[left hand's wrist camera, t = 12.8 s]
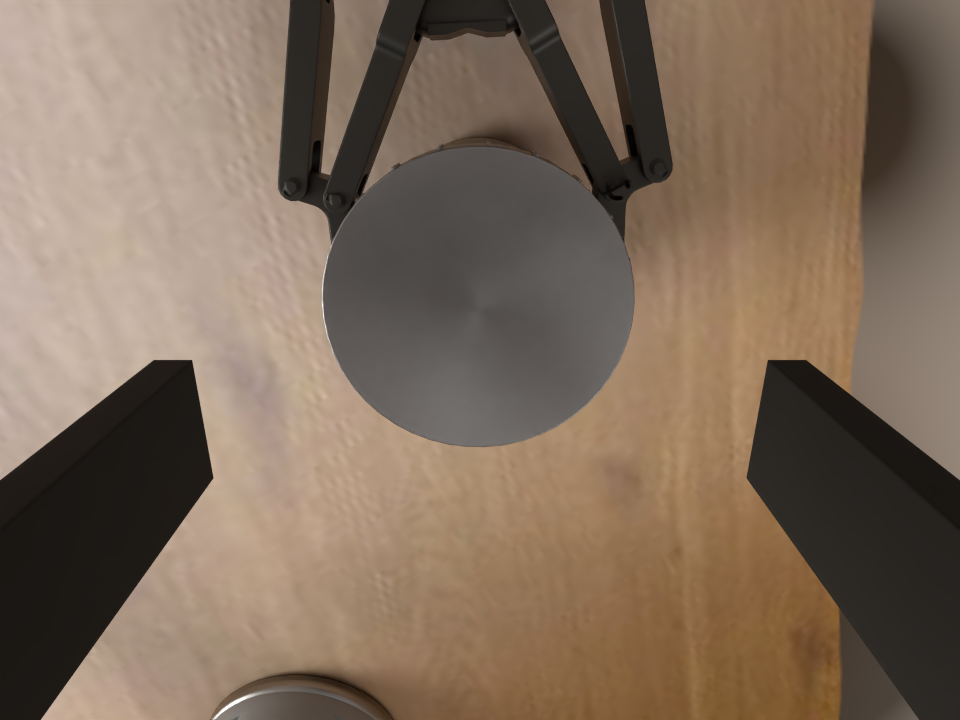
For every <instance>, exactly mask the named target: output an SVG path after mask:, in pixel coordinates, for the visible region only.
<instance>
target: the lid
mask: <svg viewBox="0 0 960 720" xmlns="http://www.w3.org/2000/svg"><path fill="white" fill-rule="evenodd" d="M391 169H392V171H391V172H389V173H388V174H387V175H385V176H384V177H383V178H382V179H380V180H379V181H378V182H377V183H375V184H374V185H373V186H372V187H370V188H369V189H368V190H367V191H366V193H363V194H362V195H361V196H359V197H358V198H357V199H356V200H355V201H356V203H355V204H354V206H353V207H352V209H351V210H350V211H349V213H348V214H347V216H346V217H345V219H344V220H343V222H342V224H341V226H340V227H339V229H338V231H337V233H336V235H335V237H334V238H333V239H332V245H331V248H330V251H329V253H328V256H327V260H326V265H325V270H324V275H323V285H322V308H323V319H324V323H325V328H326V333H327V337H328V340H329V342H330V345H331V348H332V351H333V354H334V356H335V358H336V360H337V362H338V364H339V366H340V368H341V369H342V371H343V373H344V374H345V376H346V377H347V379H348V380H349V382H350V383H351V385H352V386H353V387H354V389H355V390H356V391H357V392H358V393H359V394H360V395H361V396H362V398H363V399H364V400H365V401H366V402H367V403H368V404H369V405H371V406H372V407H373V408H374V409H375V410H376V411H377V412H379V413H380V414H381V415H383V416H384V417H385V418H387V419H388V420H390V421H391V422H393V423H394V424H396V425H398V426H400V427H402V428H403V429H405V430H407V431H409V432H411V433H413V434H416V435H419V436H421V437H424V438H427V439H429V440H433V441H437V442H441V443H445V444H449V445H457V446H465V447H490V446H500V445H507V444H511V443H516V442H520V441H524V440H527V439H530V438H533V437H535V436H538V435H541V434H543V433H545V432H547V431H549V430H551V429H553V428H555V427H557V426H559V425H560V424H562V423H563V422H565V421H567V420H568V419H570V418H571V417H573V416H574V415H575V414H576V413H578V412H579V411H580V410H581V409H582V408H584V407H585V406H586V405H587V404H588V403H589V402H590V401H591V400H592V399H593V398H594V397H595V396H596V395H597V394H598V393H599V392H600V390H601V389H602V388H603V386H604V385H605V384H606V382H607V381H608V379H609V378H610V377H611V375H612V373H613V372H614V370H615V368H616V366H617V364H618V363H619V361H620V359H621V357H622V354H623V351H624V349H625V346H626V344H627V341H628V337H629V334H630V330H631V326H632V320H633V312H634V280H633V274H632V268H631V263H630V258H629V256H628V253H627V250H626V247H625V244H624V241H623V239H622V237H621V235H620V233H619V231H618V229H617V227H616V225H615V223H614V222H613V220H612V218H613V217H612V215H611V214H610V213H608V212H607V211H606V209H605V208H604V207H603V206H602V204H601V203H600V202H599V201H598V200H597V199H596V198H595V196H594V195H593V194H592V193H591V192H590V191H589V190H588V189H587V188H585V187H584V186H583V185H582V184H581V182H582V180H581V179H579V178H578V177H577V176H575V175H574V174H573V176H571V175H570V174H568V173H567V172H566V171H564V170H563V169H561V168H559V167H558V166H556V165H555V164H553V163H552V162H550V161H548V160H546V159H544V158H542V157H540V154H538V153H537V152H536V151H533V152H532V153H531V152H528V151H525V150H521V149H518V148H515V147H511V146H505V145H499V144H492V143H491V142H490V141H488V140H487V143H466V144H457V145H450V146H446V147H443V144H442V145H439V146H438V147H437V149H435V150H431V151H428V152H426V153H424V154H421V155H419V156H416V157H414V158H412V159H410V160H408V161H407V162H405V163H403V164H402V165H400V163H398V164H396V165H395V166H393V167H392V168H391Z"/></svg>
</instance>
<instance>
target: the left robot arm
mask: <svg viewBox="0 0 960 720" xmlns="http://www.w3.org/2000/svg"><path fill="white" fill-rule="evenodd" d="M212 479H213V473H212V468H211V462H210V457H209V451H208V446H207V440H206V434H205V429H204V423H203V418H202V412H201V407H200V401H199V396H198V390H197V385H196V379H195V374H194V368H193V363H192V360H153V361H152V362H151V363H150V364H148V365H147V366H146V367H145V368H143V369H142V370H141V371H139V372H138V373H137V374H136V375H134V376H133V377H132V378H130V379H129V380H128V381H127V382H125V383H124V384H123V385H122V386H120V387H119V388H118V389H116V390H115V391H114V392H113V393H111V394H110V395H109V396H107V397H106V398H105V399H104V400H102V401H101V402H100V403H99V404H97V405H96V406H95V407H93V408H92V409H91V410H90V411H88V412H87V413H86V414H84V415H83V416H82V417H81V418H79V419H78V420H77V421H76V422H74V423H73V424H72V425H70V426H69V427H68V428H67V429H65V430H64V431H63V432H61V433H60V434H59V435H58V436H56V437H55V438H54V439H53V440H51V441H50V442H49V443H47V444H46V445H45V446H44V447H42V448H41V449H40V450H38V451H37V452H36V453H35V454H33V455H32V456H31V457H29V458H28V459H27V460H26V461H24V462H23V463H22V464H21V465H19V466H18V467H17V468H15V469H14V470H13V471H12V472H10V473H9V474H8V475H6V476H5V477H4V478H3V479H1V480H0V720H41V719H42V717H43V716H44V714H45V713H46V712H47V710H48V709H49V707H50V706H51V705H52V703H53V702H54V700H55V699H56V698H57V696H58V695H59V693H60V692H61V691H62V689H63V688H64V686H65V685H66V684H67V682H68V681H69V679H70V678H71V677H72V675H73V674H74V672H75V671H76V670H77V668H78V667H79V665H80V664H81V663H82V661H83V660H84V658H85V657H86V656H87V654H88V653H89V651H90V650H91V649H92V647H93V646H94V644H95V643H96V642H97V640H98V639H99V637H100V636H101V635H102V633H103V632H104V630H105V629H106V628H107V626H108V625H109V623H110V622H111V621H112V619H113V618H114V616H115V615H116V614H117V612H118V611H119V609H120V608H121V607H122V605H123V604H124V602H125V601H126V600H127V598H128V597H129V595H130V594H131V593H132V591H133V590H134V588H135V587H136V586H137V584H138V583H139V581H140V580H141V579H142V577H143V576H144V574H145V573H146V572H147V570H148V569H149V567H150V566H151V565H152V563H153V562H154V560H155V559H156V558H157V556H158V555H159V553H160V552H161V551H162V549H163V548H164V546H165V545H166V544H167V542H168V541H169V540H170V538H171V537H172V535H173V534H174V533H175V531H176V530H177V528H178V527H179V526H180V524H181V523H182V521H183V520H184V519H185V517H186V516H187V514H188V513H189V512H190V510H191V509H192V507H193V506H194V505H195V503H196V502H197V500H198V499H199V498H200V496H201V495H202V493H203V492H204V491H205V489H206V488H207V486H208V485H209V484H210V482H211V481H212ZM747 479H748V481H749V482H750V484H751V485H752V486H753V488H754V489H755V491H756V492H757V493H758V495H759V496H760V498H761V499H762V500H763V502H764V503H765V505H766V506H767V507H768V509H769V510H770V512H771V513H772V514H773V516H774V517H775V519H776V520H777V521H778V523H779V524H780V526H781V527H782V528H783V530H784V531H785V533H786V534H787V535H788V537H789V538H790V540H791V541H792V542H793V544H794V545H795V546H796V548H797V549H798V551H799V552H800V553H801V555H802V556H803V558H804V559H805V560H806V562H807V563H808V565H809V566H810V567H811V569H812V570H813V572H814V573H815V574H816V576H817V577H818V579H819V580H820V581H821V583H822V584H823V586H824V587H825V588H826V590H827V591H828V593H829V594H830V595H831V597H832V598H833V600H834V601H835V602H836V604H837V605H838V607H839V608H840V609H841V611H842V612H843V614H844V615H845V616H846V618H847V619H848V621H849V622H850V623H851V625H852V626H853V628H854V629H855V630H856V632H857V633H858V635H859V636H860V637H861V639H862V640H863V642H864V643H865V644H866V646H867V647H868V649H869V650H870V651H871V653H872V654H873V656H874V657H875V658H876V660H877V661H878V663H879V664H880V665H881V667H882V668H883V670H884V671H885V672H886V674H887V675H888V677H889V678H890V679H891V681H892V682H893V684H894V685H895V686H896V688H897V689H898V691H899V692H900V693H901V695H902V696H903V698H904V699H905V700H906V702H907V703H908V705H909V706H910V707H911V709H912V710H913V712H914V713H915V714H916V716H917V717H918V719H919V720H960V480H959V479H957V478H956V477H955V476H954V475H952V474H951V473H950V472H948V471H947V470H946V469H945V468H943V467H942V466H941V465H939V464H938V463H937V462H936V461H934V460H933V459H932V458H930V457H929V456H928V455H927V454H925V453H924V452H923V451H922V450H920V449H919V448H918V447H916V446H915V445H914V444H913V443H911V442H910V441H909V440H907V439H906V438H905V437H904V436H902V435H901V434H900V433H899V432H897V431H896V430H895V429H893V428H892V427H891V426H890V425H888V424H887V423H886V422H884V421H883V420H882V419H881V418H879V417H878V416H877V415H876V414H874V413H873V412H872V411H870V410H869V409H868V408H867V407H865V406H864V405H863V404H861V403H860V402H859V401H858V400H856V399H855V398H854V397H853V396H851V395H850V394H849V393H847V392H846V391H845V390H844V389H842V388H841V387H840V386H838V385H837V384H836V383H835V382H833V381H832V380H831V379H830V378H828V377H827V376H826V375H824V374H823V373H822V372H821V371H819V370H818V369H817V368H815V367H814V366H813V365H812V364H810V363H809V362H808V361H807V360H768V363H767V368H766V374H765V379H764V385H763V390H762V396H761V401H760V407H759V412H758V418H757V423H756V429H755V434H754V440H753V446H752V451H751V457H750V462H749V468H748V473H747ZM210 720H393V719H392V718H391V716H390V715H389V714H388V713H387V712H386V711H385V709H384V708H383V707H381V706H380V705H379V704H378V703H377V702H376V701H374V700H373V699H372V698H370V697H369V696H367V695H366V694H364V693H363V692H361V691H359V690H357V689H355V688H353V687H350V686H348V685H346V684H343V683H340V682H337V681H334V680H330V679H326V678H321V677H315V676H305V675H285V676H276V677H271V678H266V679H262V680H258V681H255V682H253V683H250V684H247V685H245V686H243V687H241V688H239V689H238V690H236V691H235V692H233V693H232V694H230V695H229V696H228V697H226V698H225V699H224V700H223V701H222V702H221V703H220V705H219V706H218V707H217V708H216V710H215V711H214V713H213V715H212V717H211V719H210Z"/></svg>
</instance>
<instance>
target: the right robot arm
mask: <svg viewBox="0 0 960 720" xmlns="http://www.w3.org/2000/svg"><path fill="white" fill-rule="evenodd" d="M599 1H600V8H601V15H602V20H603V25H604V30H605V36H606V41H607V46H608V51H609V56H610V61H611V66H612V71H613V77H614V82H615V87H616V92H617V97H618V102H619V107H620V113H621V118H622V123H623V128H624V133H625V138H626V143H627V148H628V154H629V157H628V158H625V159H623V160H620V161H619V160H618V158H617V156H616V153H615V151H614V149H613V147H612V145H611V143H610V141H609V139H608V137H607V134H606V132H605V130H604V128H603V126H602V124H601V122H600V120H599V118H598V115H597V113H596V111H595V109H594V107H593V105H592V103H591V101H590V99H589V97H588V94H587V92H586V90H585V88H584V86H583V84H582V82H581V80H580V78H579V75H578V73H577V71H576V69H575V67H574V65H573V63H572V61H571V59H570V56H569V54H568V52H567V50H566V48H565V46H564V44H563V42H562V40H561V37H560V35H559V31H558V27H557V25H556V22H555V20H554V18H553V16H552V14H551V12H550V10H549V7H548V5H547V3H546V1H545V0H390V1H389V4H388V7H387V9H386V12H385V15H384V18H383V21H382V24H381V26H380V29H379V32H378V36H377V41H376V47H375V50H374V53H373V56H372V59H371V62H370V64H369V67H368V70H367V73H366V76H365V78H364V81H363V84H362V87H361V90H360V93H359V95H358V98H357V101H356V104H355V107H354V110H353V112H352V115H351V118H350V121H349V124H348V127H347V129H346V132H345V135H344V138H343V141H342V144H341V146H340V149H339V152H338V155H337V158H336V161H335V163H334V166H333V169H332V172H331V175H327V174H324V173H321V166H322V155H323V144H324V133H325V122H326V112H327V101H328V90H329V79H330V68H331V57H332V47H333V36H334V20H335V13H334V1H333V0H290V13H289V28H288V43H287V57H286V72H285V86H284V101H283V115H282V130H281V145H280V159H279V174H278V189H279V191H280V193H281V195H282V196H283V197H284V198H285V199H288V200H290V201H297V200H298V201H301V202H304V203H308V204H311V205H314V206H316V207H318V208H320V209H321V210H322V211H323V212H324V213H325V214H326V216H327V219H328V223H329V230H330V237H331V245H332V239H333V238H334V237H335V235H336V233H337V231H338V229H339V227H340V226H341V224H342V222H343V220H344V219H345V217H346V216H347V214H348V213H349V211H350V210H351V209H352V207H353V206H354V204H355V203H356V201H355V200H356V199H357V198H358V197H359V196H361V195H362V193H363V190H364V188H365V185H366V182H367V180H368V177H369V174H370V172H371V169H372V166H373V164H374V161H375V158H376V156H377V153H378V150H379V148H380V145H381V142H382V140H383V137H384V134H385V132H386V129H387V126H388V124H389V121H390V118H391V116H392V113H393V110H394V108H395V105H396V102H397V100H398V97H399V94H400V92H401V89H402V86H403V84H404V81H405V78H406V76H407V73H408V70H409V68H410V65H411V63H412V61H413V59H414V57H415V55H416V53H417V50H418V47H419V45H420V42H421V39H422V37H423V36H424V37H427V38H430V39H431V40H447V39H452V38H454V37H457V36H460V35H463V34H466V33H471V34H475V35H480V36H484V37H502V36H505V35H506V34H507V33H510V32H512V31H514V33H515V35H516V37H517V39H518V41H519V43H520V45H521V47H522V49H523V51H524V52H525V54H526V56H527V57H528V59H529V61H530V63H531V65H532V67H533V69H534V71H535V73H536V75H537V77H538V79H539V81H540V83H541V85H542V87H543V89H544V91H545V93H546V95H547V97H548V99H549V101H550V103H551V105H552V107H553V109H554V111H555V113H556V115H557V117H558V119H559V121H560V123H561V125H562V127H563V129H564V131H565V133H566V135H567V137H568V139H569V141H570V143H571V145H572V147H573V149H574V151H575V153H576V155H577V157H578V159H579V161H580V163H581V165H582V167H583V169H584V171H585V173H586V175H587V177H588V180H589V182H590V184H591V186H592V187H593V189H592V194H593V195H594V196H595V198H596V199H597V200H598V201H599V202H600V203H601V204H602V206H603V207H604V208H605V209H606V211H607V212H608V213H610V214H611V215H612V217H613V218H612V220H613V222H614V223H615V225H616V227H617V229H618V231H619V233H620V235H621V237H622V239H623V241H624V235H625V207H626V202H627V200H628V198H629V197H630V195H631V194H632V193H633V192H634V191H636V190H638V189H640V188H642V187H645V186H647V185H649V184H652V183H658V182H662V181H664V180H666V179H667V178H668V177H669V176H670V174H671V172H672V166H673V163H672V158H671V152H670V146H669V140H668V134H667V128H666V123H665V117H664V111H663V105H662V99H661V93H660V88H659V82H658V76H657V70H656V64H655V58H654V53H653V47H652V41H651V35H650V29H649V23H648V18H647V12H646V6H645V0H599Z"/></svg>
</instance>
